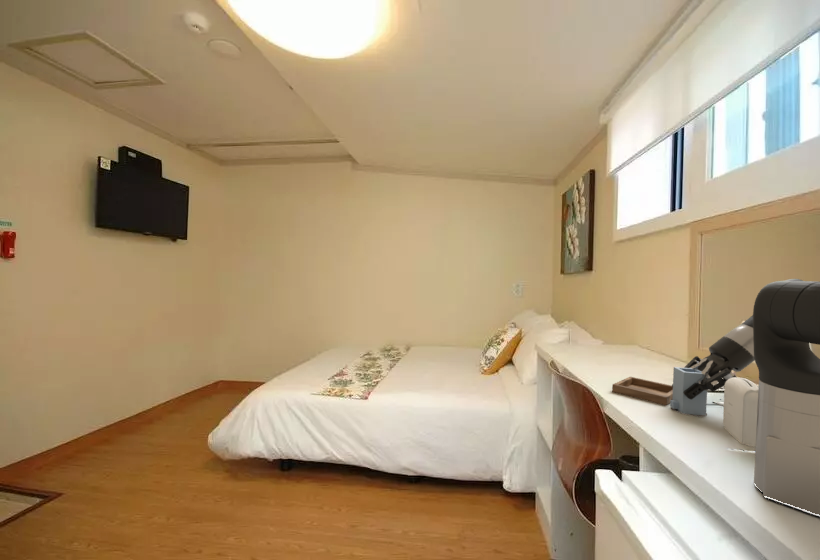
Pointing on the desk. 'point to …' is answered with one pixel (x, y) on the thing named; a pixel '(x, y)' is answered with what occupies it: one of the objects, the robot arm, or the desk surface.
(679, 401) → the blue square pencil cup
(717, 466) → the desk surface
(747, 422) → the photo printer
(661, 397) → the tray
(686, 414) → the round base metal stand
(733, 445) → the desk surface
